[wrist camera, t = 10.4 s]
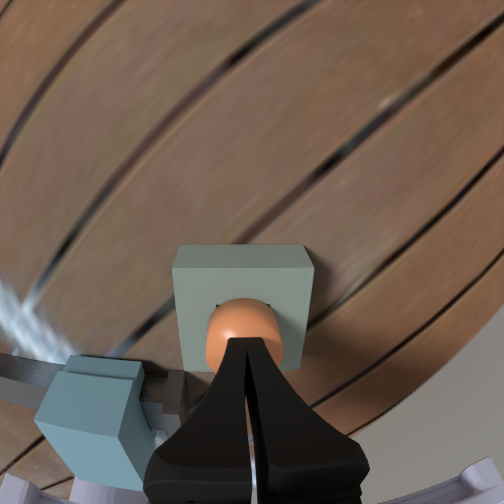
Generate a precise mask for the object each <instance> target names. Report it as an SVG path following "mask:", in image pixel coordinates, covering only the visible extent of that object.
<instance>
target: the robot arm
mask: <svg viewBox="0 0 504 504" xmlns="http://www.w3.org/2000/svg"><path fill="white" fill-rule="evenodd" d="M245 398H247V404H248V410H249V416H250V422H251V428H252V434H253V441H254V453H255V468H256V485H257V502H258V504H362V502H361V499H360V496H361V495H362V491H361V487H360V484H361V483H362V481H363V480H364V478H365V477H366V476H367V474H368V472H369V470H370V467H369V464H368V460H367V458H366V456H365V454H364V452H363V450H362V448H361V446H360V445H359V443H357V442H356V441H354V440H352V439H351V438H349V437H347V436H346V435H344V434H342V433H341V432H339V431H338V430H337V429H335V428H334V427H333V426H331V425H330V424H329V423H327V422H326V421H325V420H324V419H323V418H321V417H320V416H319V415H318V414H317V413H316V412H314V411H313V410H312V409H311V408H310V407H309V406H308V405H307V404H306V403H305V402H304V401H303V400H302V399H301V397H300V396H299V395H298V394H297V393H296V392H295V391H294V389H293V388H292V387H291V386H290V384H289V383H288V382H287V380H286V379H285V377H284V376H283V375H282V373H281V372H280V370H279V368H278V367H277V365H276V364H275V362H274V360H273V359H272V357H271V355H270V353H269V351H268V349H267V347H266V345H265V342H264V340H263V338H261V337H230V338H229V339H228V340H227V346H226V350H225V353H224V356H223V359H222V362H221V364H220V366H219V369H218V371H217V373H216V375H215V377H214V379H213V381H212V383H211V385H210V387H209V388H208V390H207V392H206V393H205V395H204V397H203V398H202V400H201V401H200V403H199V404H198V405H197V407H196V408H195V409H194V411H193V412H192V413H191V415H190V416H189V417H188V418H187V420H186V421H185V422H184V423H183V424H182V425H181V426H180V427H179V428H178V429H177V430H176V432H175V433H174V434H173V435H172V436H171V437H170V438H168V439H167V440H166V441H165V442H164V443H163V444H162V445H160V446H159V447H158V448H157V449H156V450H155V451H154V452H153V454H152V456H151V458H150V460H149V463H148V465H147V468H146V471H145V475H144V481H143V492H142V491H135V490H129V489H123V488H117V487H112V486H107V485H102V484H97V483H92V482H88V481H84V480H80V479H78V478H77V476H76V475H75V479H74V483H73V486H72V490H71V494H70V498H69V500H66V499H62V498H59V497H56V496H53V495H50V494H47V493H44V492H42V491H41V490H40V489H39V488H38V487H37V486H36V485H35V484H33V483H31V482H30V481H27V480H25V479H22V478H20V477H17V476H15V475H12V474H10V473H6V475H5V478H4V481H3V483H2V486H1V489H0V504H148V499H149V501H150V502H151V504H251V496H252V470H251V461H250V452H249V443H248V433H247V422H246V411H245ZM503 503H504V482H503V480H502V479H501V476H500V474H499V472H498V471H497V469H496V467H495V465H494V463H493V461H492V459H491V458H490V456H487V457H485V458H484V459H481V460H479V461H477V462H475V463H473V464H471V465H469V466H468V467H466V468H465V469H464V470H463V471H462V472H461V473H460V474H459V476H457V477H455V478H452V479H450V480H447V481H445V482H442V483H440V484H437V485H435V486H432V487H429V488H427V489H424V490H421V491H418V492H415V493H412V494H409V495H406V496H403V497H400V498H396V499H393V500H389V501H386V502H382V503H378V504H503Z"/></svg>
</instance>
